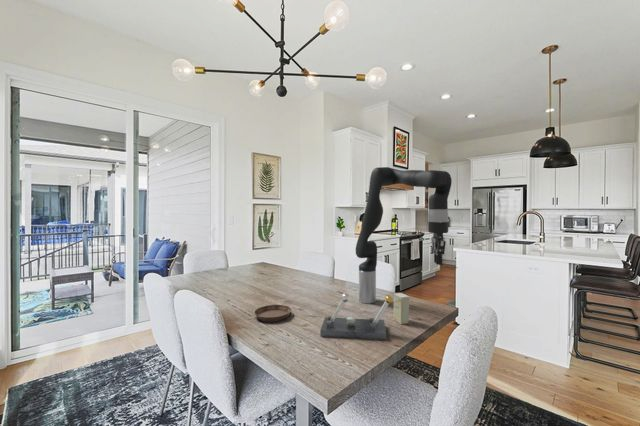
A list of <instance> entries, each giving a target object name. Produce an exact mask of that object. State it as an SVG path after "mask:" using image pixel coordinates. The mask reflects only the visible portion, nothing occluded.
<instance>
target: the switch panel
mask: <svg viewBox="0 0 640 426" xmlns="http://www.w3.org/2000/svg"><path fill="white" fill-rule="evenodd" d="M332 316H333V315H332ZM332 316H331V315H328V317H327V316H326V317H324V318H323V319H324V320H323V322H322V325H321V328H320V330H319V331H320V332H319V333H320V334H319V335H320V337H327V338H343V339H344V338H345V339H362V340H363V339H364V340H377V341H378V340H379V341H386V340H387V332H386V331H387V330H386V325H385V323H386V322H385V320H384V319H379V321H378V323H377V324H376V326H375V323H372V322H373V320H374V319H375V318H374V317H373V318H372V317H370V318H369V319H368V318H367V319H366V318H355V324H353V325H350V324H347V318H348V317H336V318H335V319H334V321H333V323H332V321H330V319H331V317H332Z"/></svg>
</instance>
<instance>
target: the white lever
mask: <svg viewBox="0 0 640 426" xmlns="http://www.w3.org/2000/svg"><path fill="white" fill-rule="evenodd" d="M349 298H350V297H349V294H348V293H347V292H344V293H342V296H341V300H340V302H339V304H338V305H337V307H336V309H335V310H334V312H333V314H332V317H331V319H330V321H332V323H333V321H334V319H335V318H337V316H338V314H339V313H340V311H341V309H342V307H343V305H344V304H345V303H346V302H348V301H349Z"/></svg>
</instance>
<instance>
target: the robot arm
mask: <svg viewBox="0 0 640 426" xmlns="http://www.w3.org/2000/svg"><path fill="white" fill-rule="evenodd" d="M452 182H453V181H452V176H451V174H450V173H449V172H448V171H446V170H433V169H431V170H430V169H429V170H422V169H421V170H420V169H417V170H416V169H415V170H414V169H409V170H402V169H396V168H393V167H389V166H383V167H382V166H381V167H375V168H373V169H372V171H371V174H370V177H369V186H368V195H367V200H366V205H365V209H364V213H363V219H362V222H361V223H362V224H361V228H360V232H359V235H358V239H357V241H356V245H355V255H356V258H358V259H366V260H365V261H362V262H361V263H360V264H359V265H358V301H359V302H360V303H362V304H375V303H376V302H377V270H376V269H377V265H378V264H377V263H378V262H377V261H378V246H377V243H376V242H375V241H374V240H369V239H370V237H371V235H372V234H373V233H374V232H375V231H376V229H377V228H378V227H379V226H380V225H381V222H382V218H383V214H384V207H383V205H382V201H381V198H380V196H381V190H382V187H387V186H392V185H398V184H400V185H405V186H409V187H417V188H426V189H427V188H428V189H435V191H434V194H431V195H430V196H429V198H428V213H427V231H428V233H430V234H431V233H432V234H433V235H432V236H431V247H432V248H431V249H432V250H431V251H432V252H433V259H434V260H433V262H434V264H435V265H437V266H442V265H443V256H444V255H445V250H446V245H447V241H446V240H445V237H444V234H447V233H449V212H448V211H449V210H448V207H449V205H448V203H449V202H448V201H449V200H448V198H449V195H450V192H451V187H452Z"/></svg>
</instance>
